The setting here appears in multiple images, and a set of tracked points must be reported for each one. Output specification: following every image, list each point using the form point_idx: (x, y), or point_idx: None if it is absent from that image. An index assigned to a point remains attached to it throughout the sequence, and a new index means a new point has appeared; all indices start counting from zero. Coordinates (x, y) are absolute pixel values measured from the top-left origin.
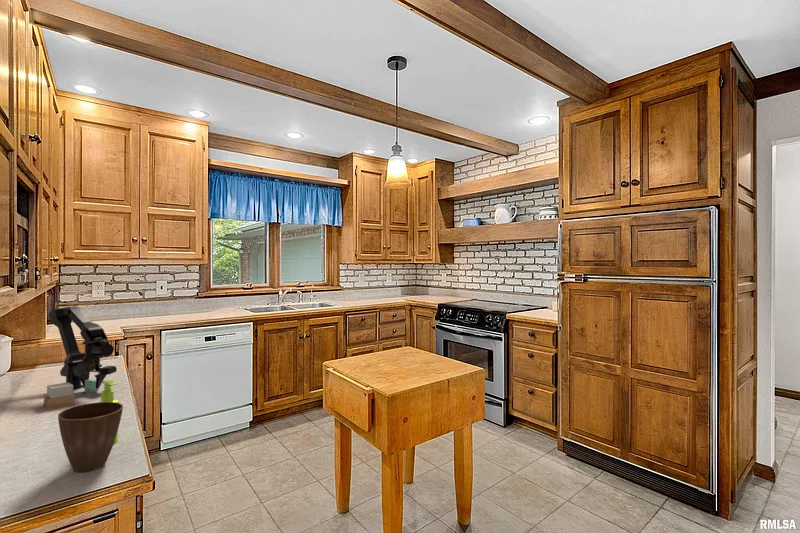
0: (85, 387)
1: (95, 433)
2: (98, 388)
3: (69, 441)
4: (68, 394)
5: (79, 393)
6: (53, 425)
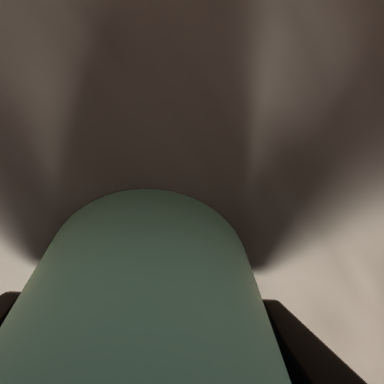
0: (218, 264)
1: None
2: None
3: None
4: None
5: (286, 152)
6: None
